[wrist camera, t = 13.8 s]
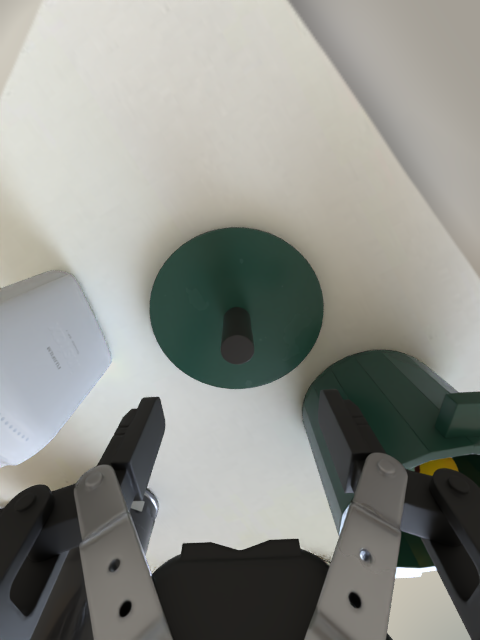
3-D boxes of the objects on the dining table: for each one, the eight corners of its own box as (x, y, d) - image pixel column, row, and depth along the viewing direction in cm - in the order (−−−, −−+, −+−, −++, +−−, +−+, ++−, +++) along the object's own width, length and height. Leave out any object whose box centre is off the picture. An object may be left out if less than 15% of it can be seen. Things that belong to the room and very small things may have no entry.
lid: (168, 385, 27) (148, 436, 21) (137, 231, 21) (96, 241, 15) (314, 378, 27) (337, 427, 21) (326, 221, 21) (363, 226, 15)
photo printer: (120, 364, 26) (32, 483, 15) (80, 370, 26) (-36, 492, 15) (77, 265, 22) (-90, 324, 11) (30, 274, 22) (-181, 341, 11)
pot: (298, 469, 33) (328, 592, 22) (306, 329, 25) (358, 418, 14) (412, 463, 33) (495, 584, 22) (457, 321, 25) (620, 405, 14)
